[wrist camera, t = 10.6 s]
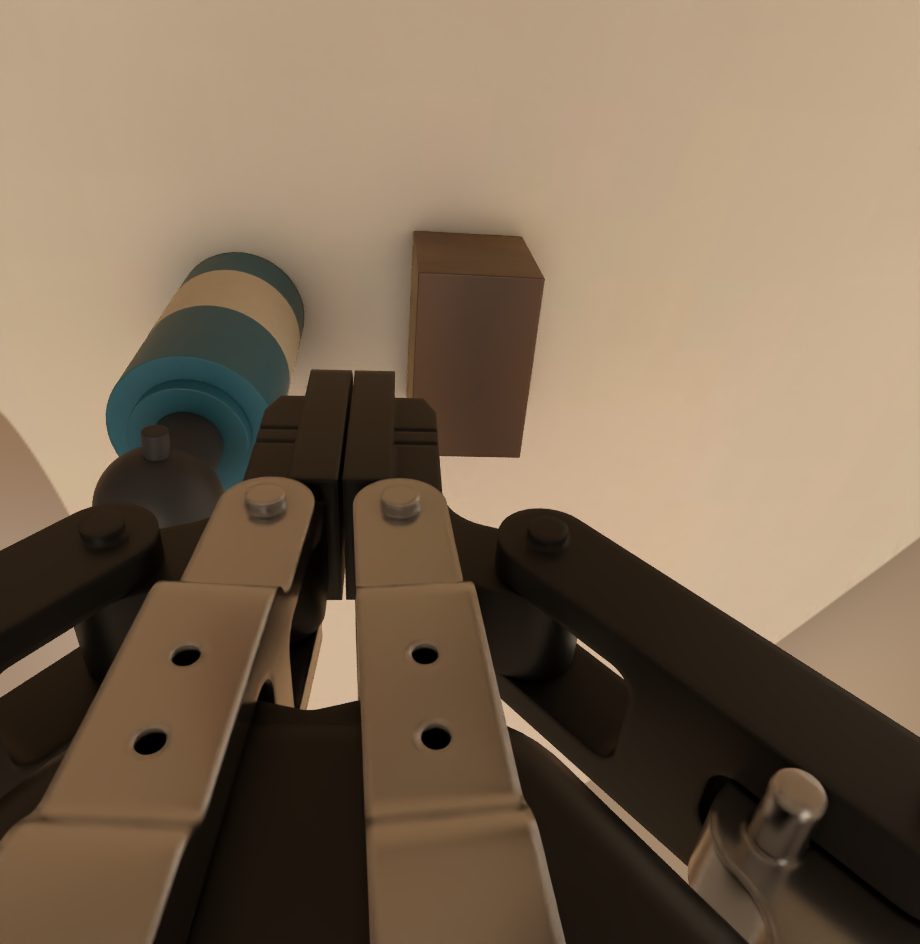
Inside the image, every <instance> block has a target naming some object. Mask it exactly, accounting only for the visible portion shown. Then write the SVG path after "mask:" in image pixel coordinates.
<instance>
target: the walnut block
mask: <svg viewBox="0 0 920 944" xmlns="http://www.w3.org/2000/svg"><path fill="white" fill-rule="evenodd" d="M544 281H545V279H544V277H543V275H542V273H541V271H540V269H539V267H538V266H537V264H536V262H535V260H534V258H533V256H532V254H531V253H530V251H529V249H528V247H527V245H526V243H525V241H524V240H523V238H522V237H515V236H497V235H479V234H460V233H442V232H424V231H414V232H413V251H412V274H411V297H410V320H409V344H408V367H407V390H406V398H423V399H424V400H425V401H426V402H427V403H428V404H429V405H430V407H431V408H432V409H433V410H434V411H435V412H436V418H437V432H438V445H439V456H465V457H512V458H519V457H520V452H521V445H522V438H523V431H524V424H525V416H526V409H527V402H528V395H529V388H530V381H531V374H532V366H533V359H534V352H535V345H536V338H537V331H538V324H539V316H540V309H541V302H542V295H543V288H544Z"/></svg>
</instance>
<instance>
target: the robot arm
mask: <svg viewBox="0 0 920 944" xmlns="http://www.w3.org/2000/svg"><path fill="white" fill-rule="evenodd" d="M344 574H346V600H355V612H356V653H357V682H358V701H354V702H349V703H345V704H340V705H336V706H331V707H327V708H322V709H317V710H307V706H308V701H309V697H310V692H311V688H312V683H313V679H314V674H315V670H316V665H317V661H318V656H319V652H320V647H321V643H322V621H323V619H324V616H325V610H326V601H327V600H342V595H343V585H344ZM73 627H74V629H75V632H76V636H77V639H78V642H79V645H80V647H78V648H77V649H75V650H74V651H72V652H71V653H69V654H68V655H66V656H64V657H63V658H61V659H60V660H58V661H57V662H55V663H54V664H52V665H51V666H49V667H47V668H46V669H44V670H43V671H41V672H40V673H38V674H37V675H35V676H34V677H32V678H30V679H29V680H27V681H25V682H24V683H23V684H21V685H19V686H18V687H16V688H15V689H13V690H12V691H10V692H8V693H7V694H5V695H4V696H2V697H1V698H0V944H920V737H918V736H917V735H915V734H914V733H912V732H911V731H909V730H908V729H906V728H904V727H903V726H901V725H900V724H898V723H896V722H895V721H893V720H892V719H890V718H889V717H887V716H886V715H884V714H883V713H881V712H879V711H878V710H876V709H875V708H873V707H872V706H870V705H869V704H867V703H865V702H864V701H862V700H861V699H859V698H858V697H856V696H854V695H853V694H851V693H850V692H848V691H847V690H845V689H843V688H842V687H840V686H838V685H837V684H836V683H834V682H832V681H831V680H829V679H827V678H826V677H824V676H823V675H822V674H820V673H818V672H817V671H815V670H814V669H812V668H810V667H809V666H807V665H806V664H804V663H803V662H801V661H800V660H798V659H796V658H795V657H793V656H792V655H790V654H789V653H787V652H785V651H784V650H782V649H781V648H779V647H778V646H776V645H775V644H773V643H771V642H770V641H768V640H767V639H765V638H764V637H762V636H760V635H759V634H757V633H756V632H754V631H753V630H751V629H749V628H748V627H746V626H745V625H743V624H742V623H740V622H738V621H737V620H735V619H734V618H732V617H731V616H729V615H728V614H726V613H724V612H723V611H721V610H720V609H718V608H717V607H715V606H713V605H712V604H710V603H709V602H707V601H706V600H704V599H702V598H701V597H699V596H698V595H696V594H695V593H693V592H691V591H690V590H688V589H687V588H685V587H684V586H682V585H681V584H679V583H677V582H676V581H674V580H673V579H671V578H670V577H668V576H666V575H665V574H663V573H662V572H660V571H659V570H657V569H655V568H654V567H652V566H651V565H649V564H648V563H646V562H644V561H643V560H641V559H640V558H638V557H637V556H635V555H634V554H632V553H630V552H629V551H627V550H626V549H624V548H623V547H621V546H619V545H618V544H616V543H615V542H613V541H612V540H610V539H608V538H607V537H605V536H604V535H602V534H601V533H599V532H598V531H596V530H594V529H593V528H591V527H590V526H588V525H587V524H585V523H583V522H582V521H580V520H579V519H577V518H575V517H573V516H571V515H569V514H566V513H564V512H560V511H557V510H551V509H542V508H539V509H527V510H522V511H518V512H516V513H514V514H512V515H510V516H508V517H507V518H506V519H505V520H504V521H503V522H502V523H501V525H500V527H499V529H497V528H493V527H488V526H484V525H480V524H477V523H474V522H471V521H468V520H466V519H464V518H462V517H460V516H459V515H457V514H456V513H455V512H453V511H452V510H451V509H450V508H449V507H448V505H447V502H446V499H445V497H444V496H443V494H442V485H441V471H440V458H439V445H438V432H437V418H436V412H435V411H434V410H433V409H432V408H431V407H430V405H429V404H428V403H427V402H426V401H425V400H424V399H423V398H395V371H359V370H355V375H354V384H353V374H352V370H314V369H312V370H311V372H310V377H309V381H308V385H307V390H306V394H305V396H282V395H281V396H280V397H279V398H278V399H277V400H275V401H274V402H273V403H272V404H271V405H270V406H269V407H267V408H266V409H265V411H264V414H263V418H262V421H261V424H260V429H259V431H258V434H257V437H256V443H255V444H254V447H253V450H252V453H251V457H250V460H249V463H248V466H247V470H246V473H245V476H244V479H243V482H241V483H238V484H236V485H234V486H232V487H231V488H229V489H228V490H227V491H225V492H224V493H223V494H222V495H221V497H220V498H219V500H218V502H217V504H216V506H215V508H214V510H213V512H212V515H211V517H208V518H206V519H203V520H200V521H196V522H192V523H187V524H182V525H177V526H172V527H167V528H162V529H160V528H159V523H158V520H157V518H156V516H155V515H154V514H153V513H152V512H151V511H149V510H148V509H146V508H144V507H141V506H138V505H134V504H128V503H110V504H103V505H97V506H93V507H90V508H87V509H84V510H81V511H79V512H76V513H74V514H72V515H70V516H68V517H67V518H64V519H62V520H60V521H58V522H56V523H54V524H52V525H51V526H49V527H46V528H45V529H43V530H41V531H39V532H37V533H35V534H33V535H31V536H29V537H27V538H25V539H23V540H21V541H19V542H17V543H15V544H13V545H11V546H9V547H7V548H5V549H3V550H1V551H0V674H1V673H2V672H3V671H4V670H5V669H7V668H8V667H10V666H11V665H13V664H15V663H16V662H18V661H19V660H21V659H23V658H24V657H26V656H28V655H29V654H31V653H32V652H34V651H35V650H37V649H39V648H40V647H42V646H44V645H45V644H47V643H48V642H50V641H52V640H53V639H55V638H57V637H58V636H60V635H61V634H63V633H65V632H66V631H68V630H69V629H71V628H73ZM577 638H578V639H579V640H581V641H582V642H583V643H585V644H586V645H587V646H588V647H590V648H591V649H592V650H594V651H595V652H596V653H598V654H599V655H600V656H602V657H603V658H604V659H605V660H607V661H608V662H609V663H611V664H612V665H613V666H614V667H615V668H616V669H617V670H618V671H619V672H620V674H621V675H622V676H623V678H624V679H622V678H621V677H620V676H619V675H617V674H616V673H615V672H613V671H612V670H611V669H609V668H608V667H607V666H606V665H604V664H603V663H602V662H600V661H599V660H598V659H596V658H595V657H594V656H593V655H591V654H590V653H589V652H587V651H586V650H585V649H583V648H582V647H581V646H580V645H578V644H577V643H576V642H577ZM501 699H502V700H503V701H504V702H505V703H506V704H507V705H509V706H510V707H511V708H512V709H513V710H514V711H515V712H516V713H517V714H519V715H520V716H521V717H522V718H523V719H524V720H525V721H526V722H527V723H529V724H530V725H531V726H532V727H533V728H534V729H535V730H536V731H538V732H539V733H540V734H541V735H542V736H543V737H544V738H545V739H546V740H548V741H549V742H550V743H551V744H552V745H553V746H554V747H555V748H556V749H558V750H559V751H560V752H561V753H562V754H563V755H564V756H565V757H566V758H568V759H569V760H570V761H571V762H572V763H573V764H574V765H575V766H576V767H578V768H579V769H580V770H581V771H582V772H583V773H584V774H585V775H586V776H588V777H589V778H590V779H591V780H592V781H593V782H594V783H595V784H596V785H598V786H599V787H600V788H601V789H602V790H603V791H604V792H605V793H607V794H608V795H609V796H610V797H611V798H612V799H613V800H614V801H616V802H617V803H618V804H619V805H620V806H621V807H622V808H623V809H624V810H625V811H627V812H628V813H629V814H630V815H631V816H632V817H633V818H634V819H635V820H637V821H638V822H639V823H640V824H641V825H642V826H643V827H644V828H645V829H647V830H648V831H649V832H650V833H651V834H652V835H653V836H654V837H655V838H657V839H658V840H659V841H660V842H661V843H662V844H663V845H664V846H666V847H667V848H668V849H669V850H670V851H671V852H672V853H673V854H674V855H676V856H677V857H678V858H679V859H680V860H681V861H682V862H683V863H684V864H686V865H687V866H688V880H689V885H688V884H687V883H686V882H685V881H684V880H683V879H682V878H681V877H680V876H679V875H678V874H677V873H676V872H675V871H674V870H673V869H672V868H671V867H670V866H669V865H668V864H666V862H665V861H663V859H661V858H660V857H659V856H658V855H657V854H656V853H655V852H654V851H653V850H652V849H651V848H650V847H649V846H648V845H647V844H646V843H645V842H644V841H643V840H642V839H641V838H640V837H639V836H638V835H637V834H636V833H635V832H634V831H633V830H632V829H630V827H628V826H627V825H626V824H625V823H624V822H623V821H622V820H621V819H620V818H619V817H618V816H617V815H616V814H615V813H614V812H613V811H612V810H611V809H610V808H609V807H608V806H607V805H606V804H605V803H604V802H603V801H602V800H601V799H599V798H598V796H596V795H595V794H594V793H593V792H592V791H591V790H590V789H589V788H588V787H587V786H586V785H585V784H584V783H583V782H582V781H581V780H580V779H579V778H578V777H577V776H576V775H575V774H574V773H573V772H572V771H571V770H570V769H569V768H568V767H567V766H565V765H564V764H563V763H562V762H561V761H560V760H559V759H558V758H557V757H556V756H555V755H554V754H552V753H551V752H550V751H549V750H547V749H546V748H545V747H543V746H542V745H541V744H539V743H538V742H536V741H535V740H533V739H531V738H530V737H528V736H526V735H524V734H523V733H521V732H519V731H517V730H515V729H512V728H510V727H508V726H507V725H506V720H505V716H504V711H503V707H502V703H501Z"/></svg>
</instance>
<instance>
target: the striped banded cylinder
mask: <svg viewBox="0 0 920 944" xmlns="http://www.w3.org/2000/svg"><path fill="white" fill-rule="evenodd" d="M303 326H304V309H303V303H302V300H301V297H300V295H299V293H298V291H297V289H296V287H295V285H294V284H293V282H292V281H291V280H290V279H289V277H288V276H287V275H286V274H285V273H284V272H283V271H282V270H281V269H279V268H278V267H277V266H275V265H274V264H272V263H270V262H269V261H267V260H265V259H263V258H260V257H258V256H254V255H251V254H246V253H235V252H233V253H223V254H219V255H215V256H213V257H210V258H208V259H206V260H204V261H203V262H201V263H200V264H199V265H197V266H196V267H195V268H194V269H193V270H192V271H191V272H190V274H189V275H188V277H187V278H186V280H185V281H184V283H183V284H182V286H181V287H180V289H179V290H178V291H177V293H176V294H175V295H174V297H173V298H172V300H171V301H170V303H169V304H168V306H167V307H166V309H165V310H164V312H163V313H162V315H161V316H160V318H159V319H158V321H157V322H156V324H155V325H154V327H153V329H152V330H151V332H150V333H149V335H148V337H147V338H146V340H145V341H144V343H143V344H142V346H141V347H140V349H139V350H138V352H137V354H136V355H135V357H134V358H133V360H132V361H131V363H130V364H129V366H128V367H127V369H126V370H125V372H124V373H123V375H122V376H121V378H120V379H119V381H118V382H117V384H116V385H115V387H114V388H113V390H112V392H111V394H110V397H109V400H108V403H107V409H106V426H107V431H108V435H109V438H110V441H111V443H112V445H113V447H114V449H115V451H116V453H117V454H118V456H119V457H118V458H117V459H116V460H115V461H113V462H112V463H111V464H110V465H109V466H108V468H107V469H106V470H105V471H104V472H103V474H102V476H101V477H100V479H99V481H98V483H97V485H96V488H95V491H94V495H93V501H92V507H93V506H97V505H103V504H110V503H128V504H134V505H138V506H141V507H144V508H146V509H148V510H149V511H151V512H152V513H153V514H154V515H155V516H156V518H157V520H158V523H159V528H160V529H162V528H167V527H172V526H177V525H182V524H187V523H192V522H196V521H200V520H203V519H206V518H208V517H211V515H212V512H213V510H214V508H215V506H216V504H217V502H218V500H219V498H220V497H221V495H222V494H223V493H224V492H225V491H227V490H228V489H229V488H231V487H232V486H234V485H236V484H238V483H241V482H243V479H244V476H245V473H246V470H247V466H248V463H249V460H250V457H251V453H252V450H253V447H254V444H255V443H256V437H257V434H258V431H259V429H260V424H261V421H262V418H263V414H264V411H265V409H266V408H267V407H269V406H270V405H271V404H272V403H273V402H274V401H275V400H277V399H278V398H279V397H280V396H281V395H282V396H288V392H289V388H290V384H291V380H292V375H293V371H294V367H295V362H296V358H297V354H298V349H299V343H300V339H301V335H302V330H303Z"/></svg>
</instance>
